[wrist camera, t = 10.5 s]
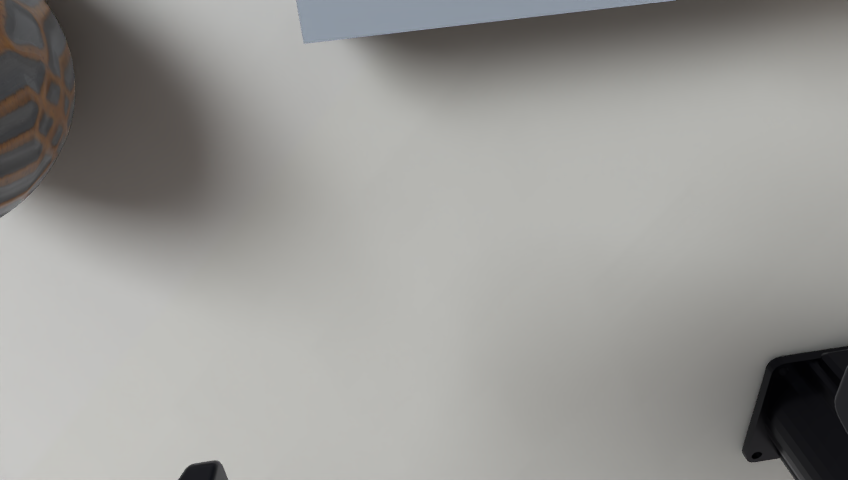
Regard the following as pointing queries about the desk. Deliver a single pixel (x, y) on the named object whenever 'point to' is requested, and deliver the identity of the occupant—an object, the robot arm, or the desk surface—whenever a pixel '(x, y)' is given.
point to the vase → (31, 97)
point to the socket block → (426, 14)
